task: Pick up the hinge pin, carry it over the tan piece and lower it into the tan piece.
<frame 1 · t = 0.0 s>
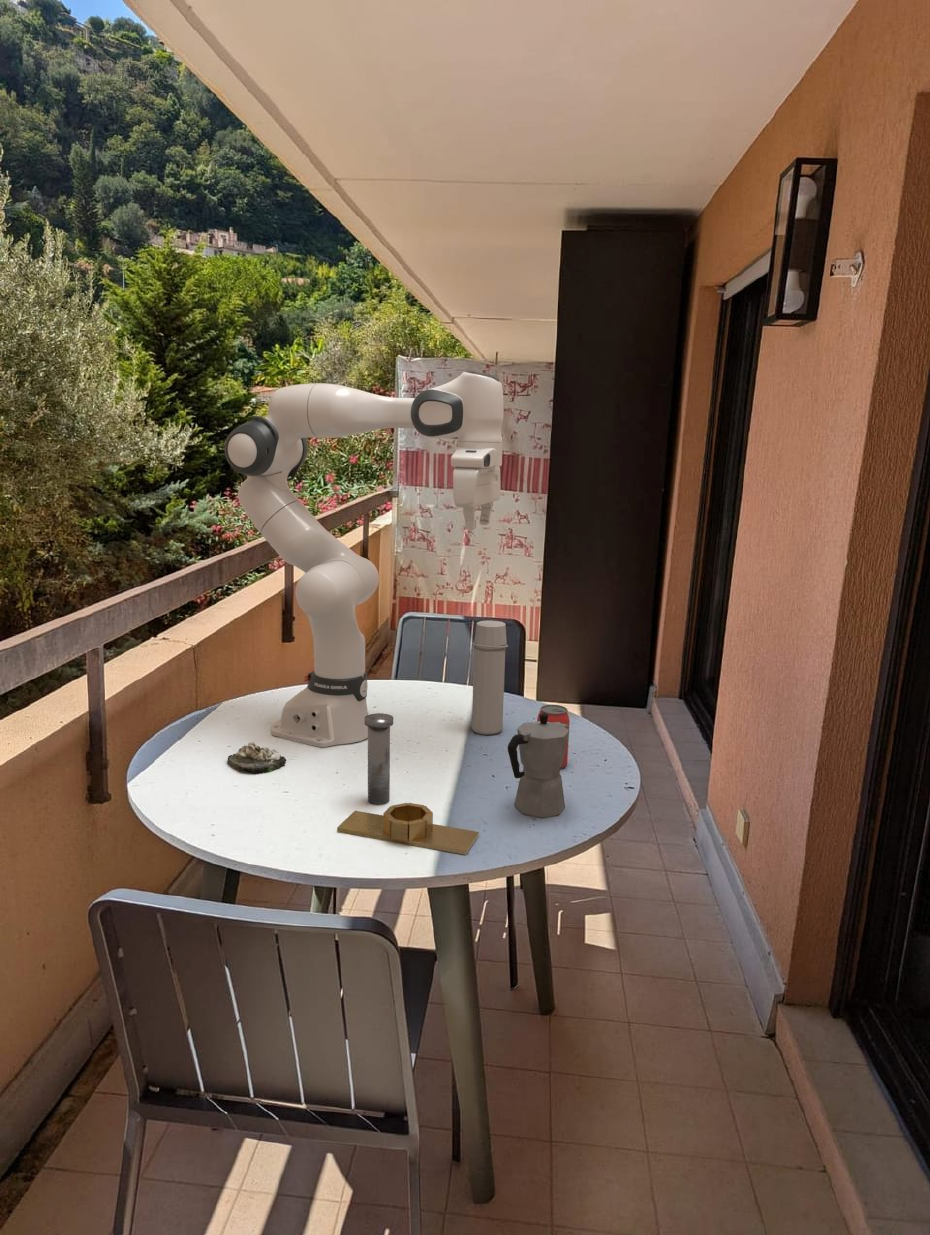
hand: (477, 526, 174), 48 cm above the table, tool pointing down, fingers open, 8 cm apart
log: (256, 766, 175), on the table
water bottle: (488, 730, 198), on the table
tan piece: (407, 833, 147), on the table
coffeepot: (535, 809, 158), on the table
beer can: (551, 764, 179), on the table
hinge pin: (378, 800, 160), on the table
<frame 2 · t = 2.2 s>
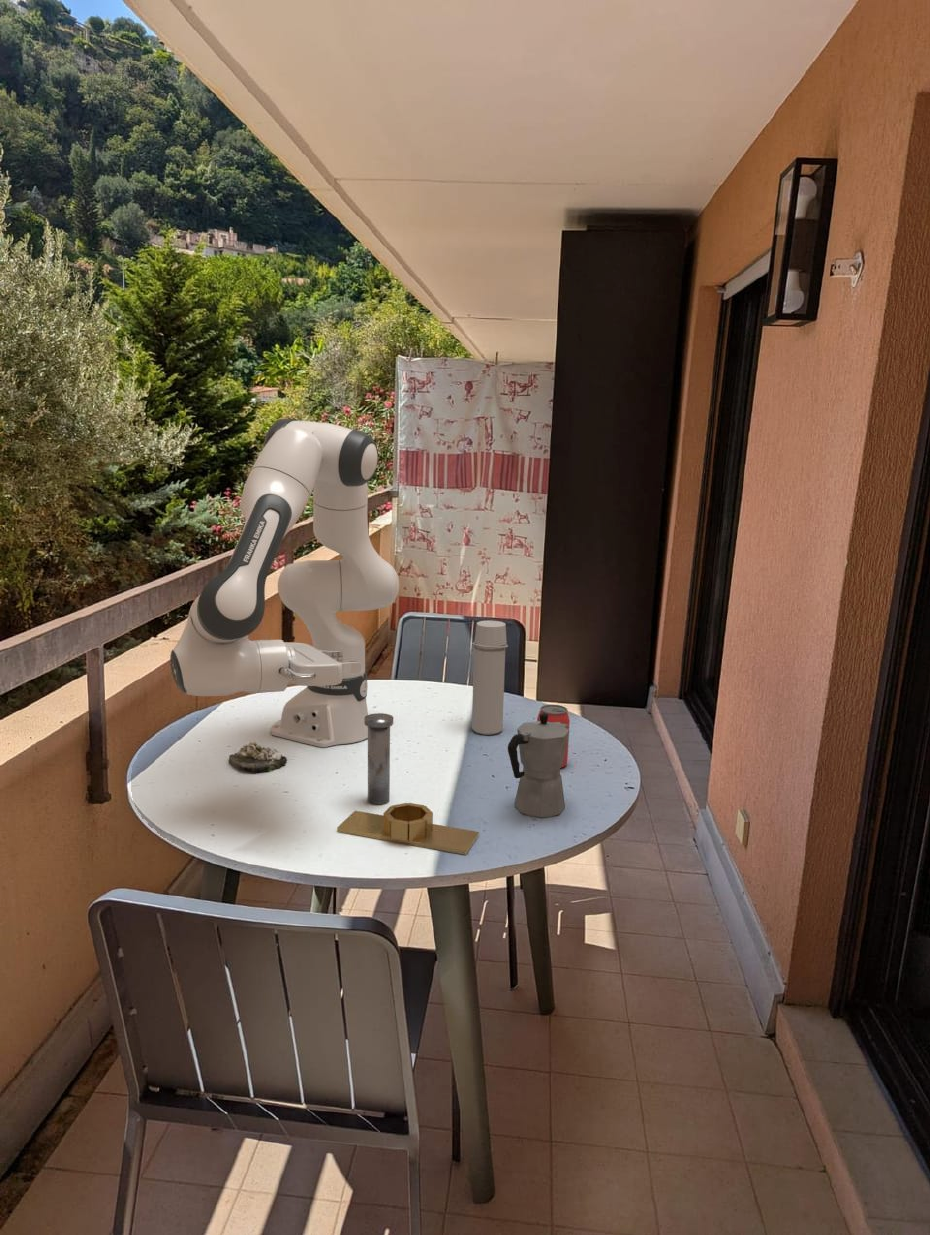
hand: (350, 661, 153), 27 cm above the table, tool horizontal, fingers open, 8 cm apart
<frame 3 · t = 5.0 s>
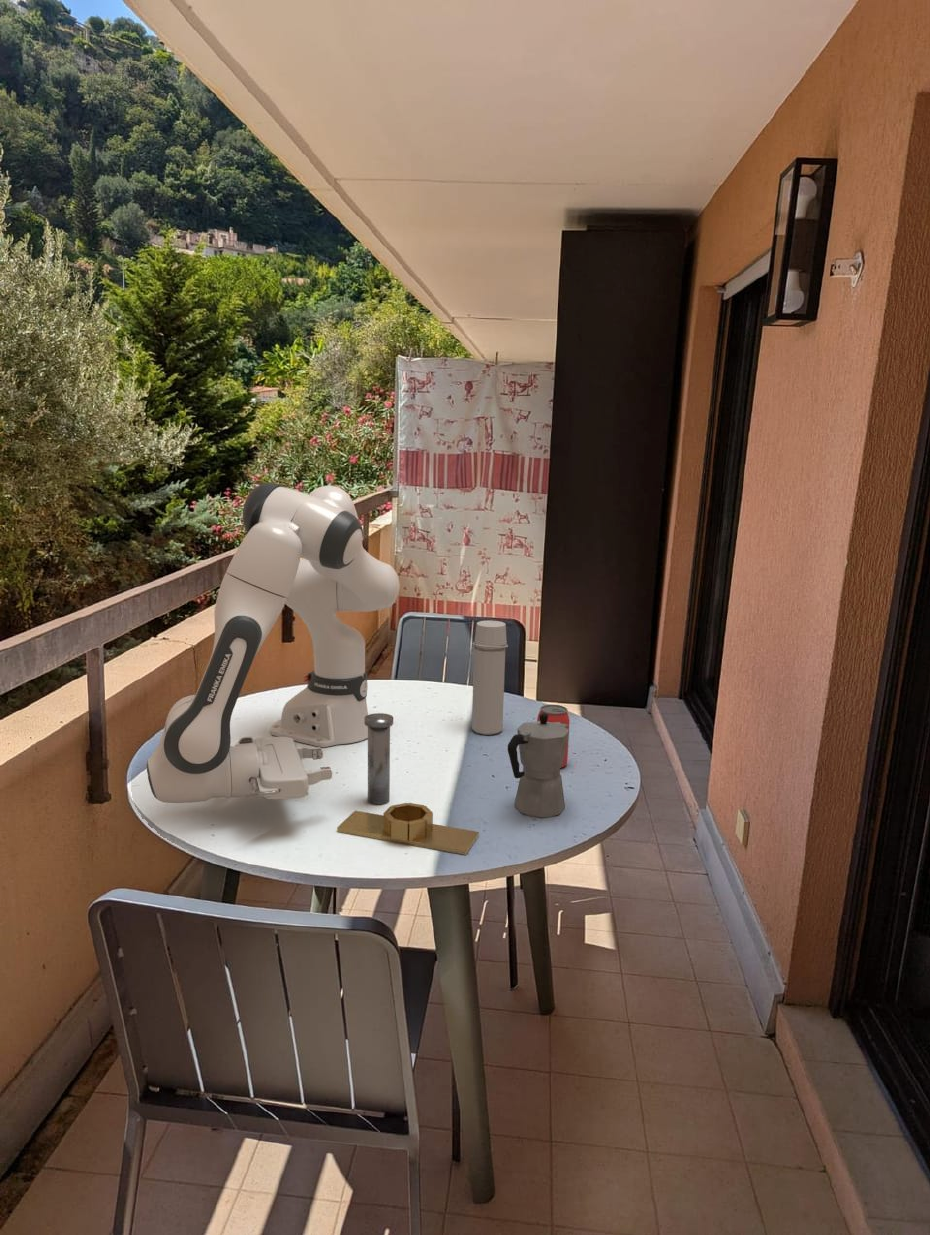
hand: (326, 762, 155), 8 cm above the table, tool horizontal, fingers open, 8 cm apart
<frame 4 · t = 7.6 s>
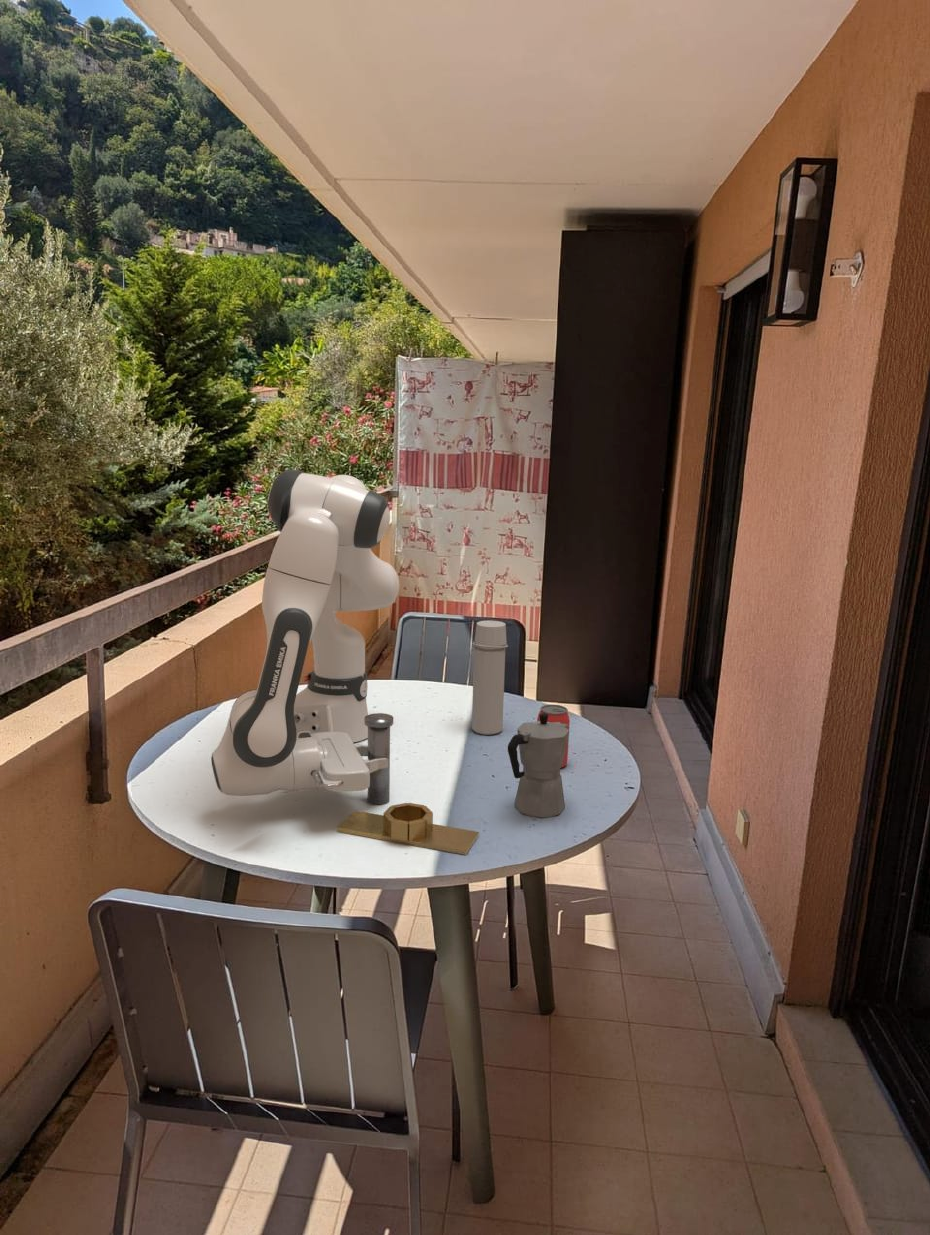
hand: (383, 756, 158), 9 cm above the table, tool horizontal, fingers closed on hinge pin, 4 cm apart
hinge pin: (378, 800, 160), on the table, touching gripper
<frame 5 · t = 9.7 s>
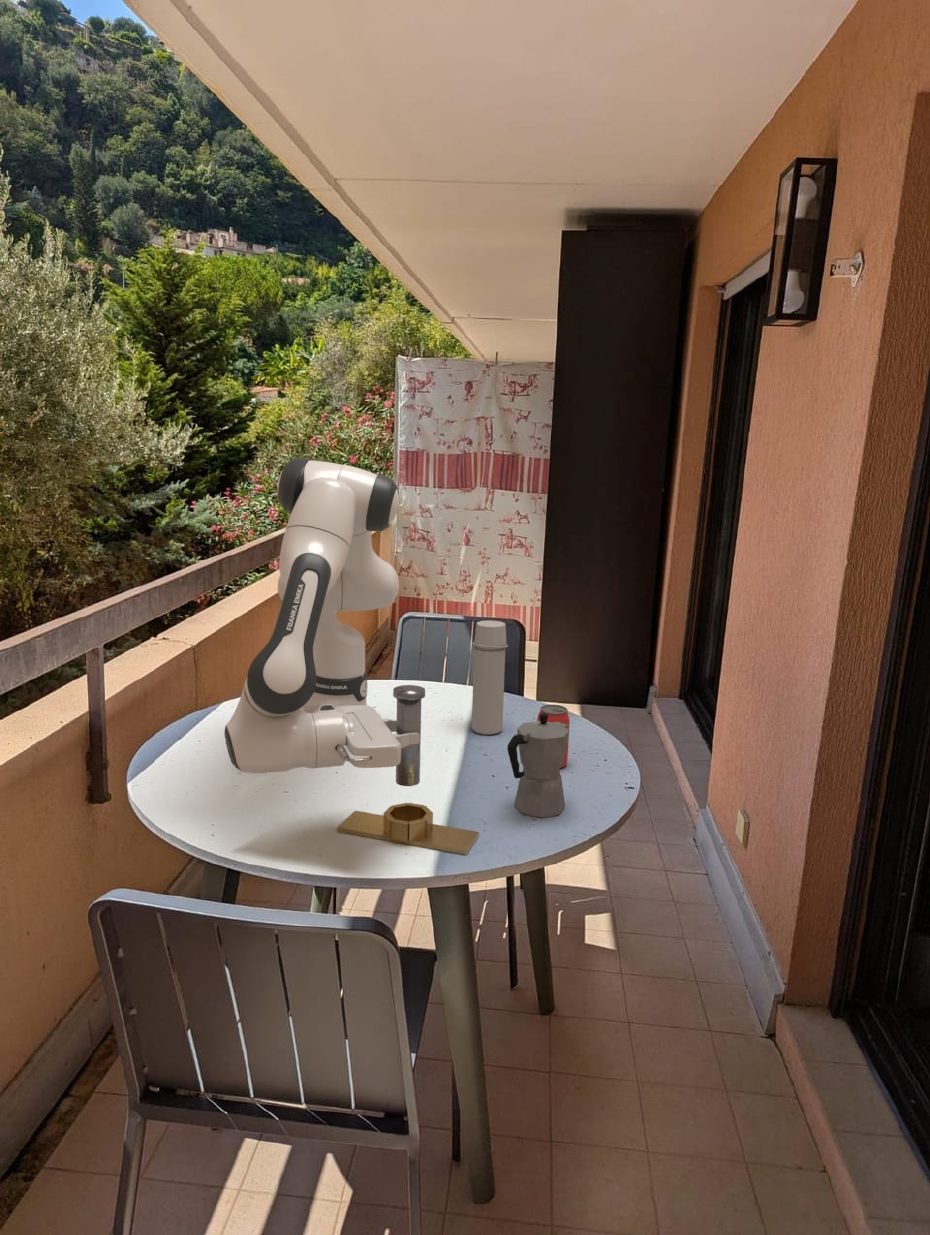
hand: (413, 731, 143), 18 cm above the table, tool horizontal, fingers closed on hinge pin, 4 cm apart
hinge pin: (407, 781, 145), point 10 cm above the table, touching gripper
when the fingers open (10 cm above the table, at t = 11.9 s): hinge pin stays where it is, resting on tan piece.
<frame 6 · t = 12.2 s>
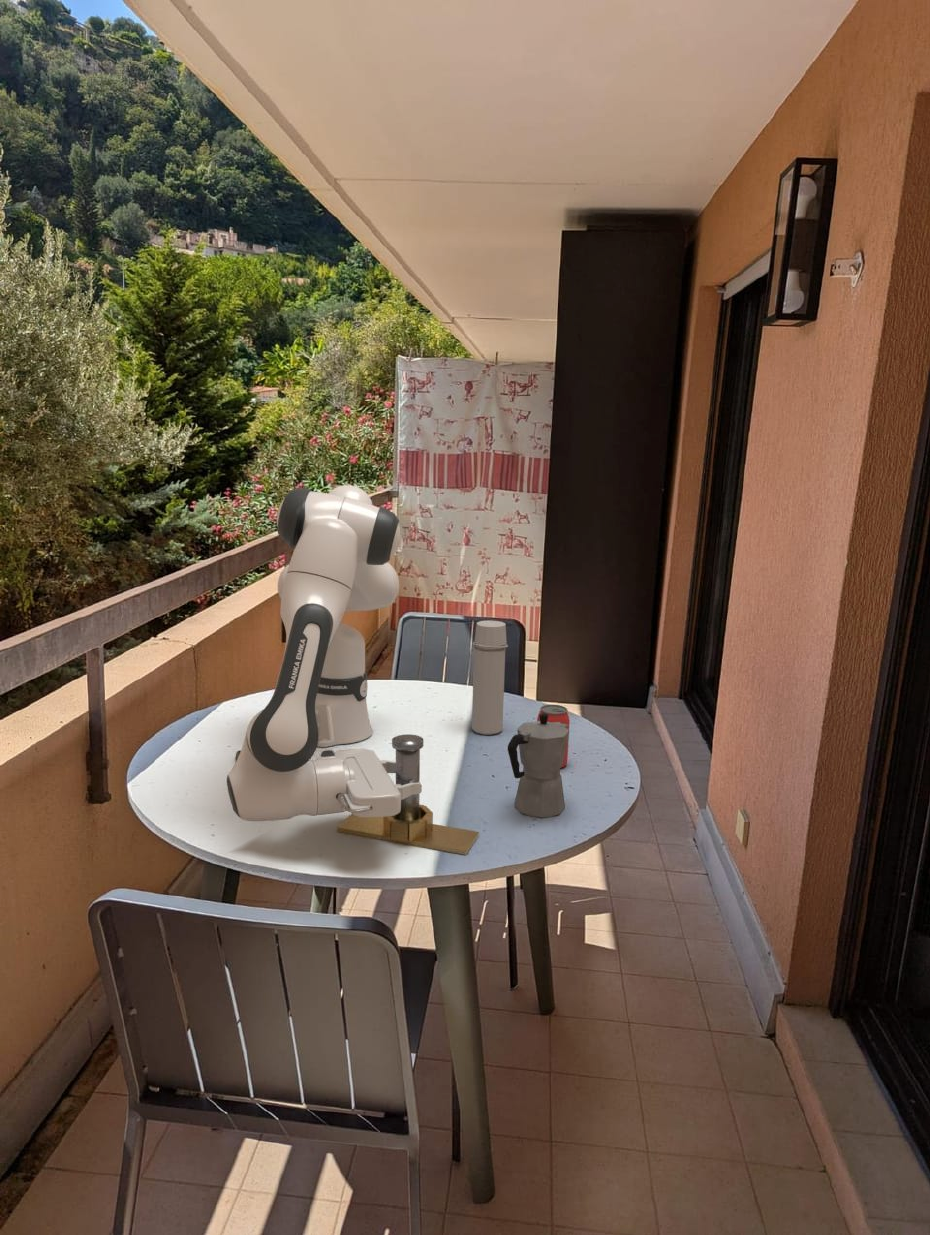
hand: (413, 776, 145), 10 cm above the table, tool horizontal, fingers open, 7 cm apart
hinge pin: (407, 829, 147), point 1 cm above the table, touching tan piece
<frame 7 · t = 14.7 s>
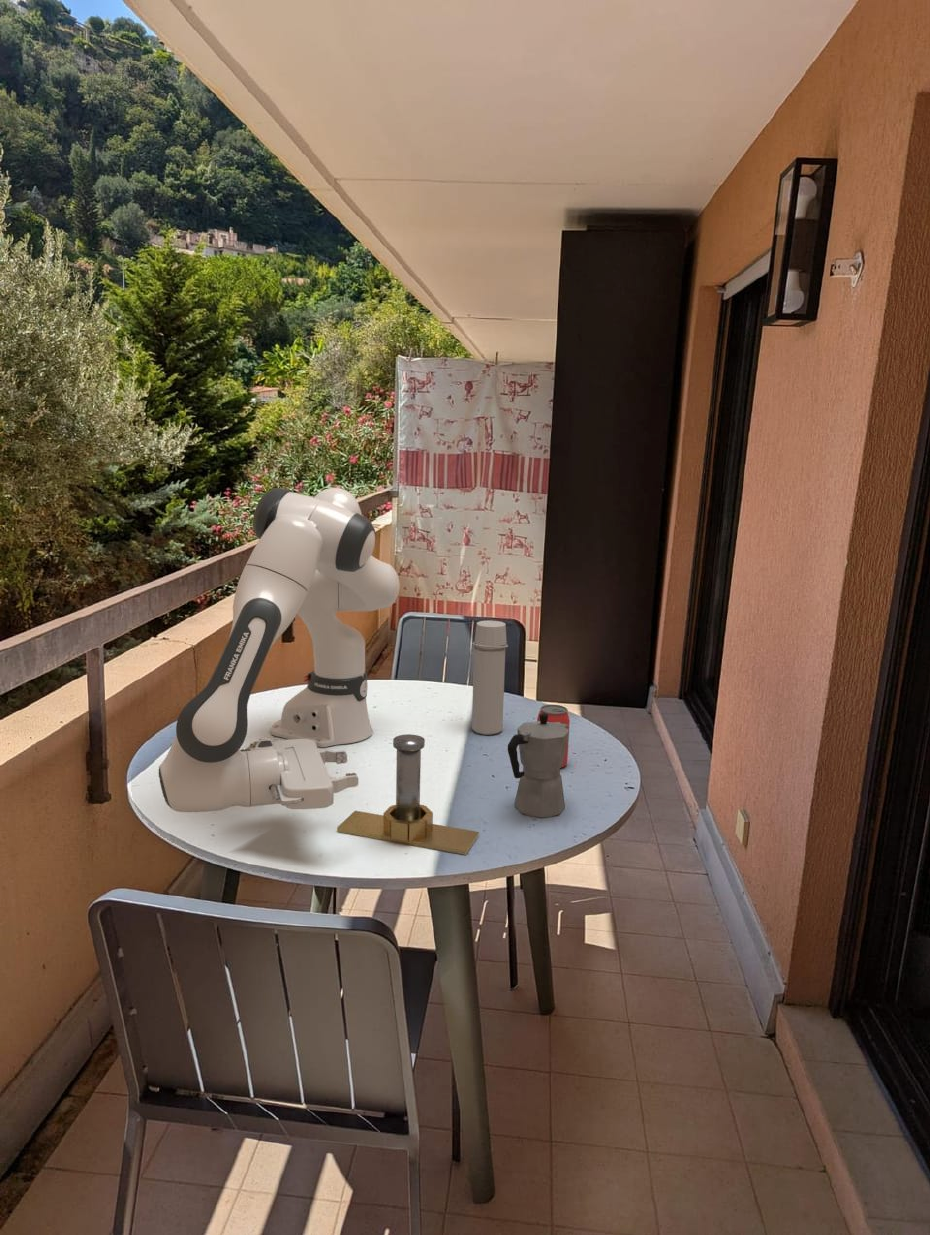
hand: (351, 767, 144), 12 cm above the table, tool horizontal, fingers open, 8 cm apart
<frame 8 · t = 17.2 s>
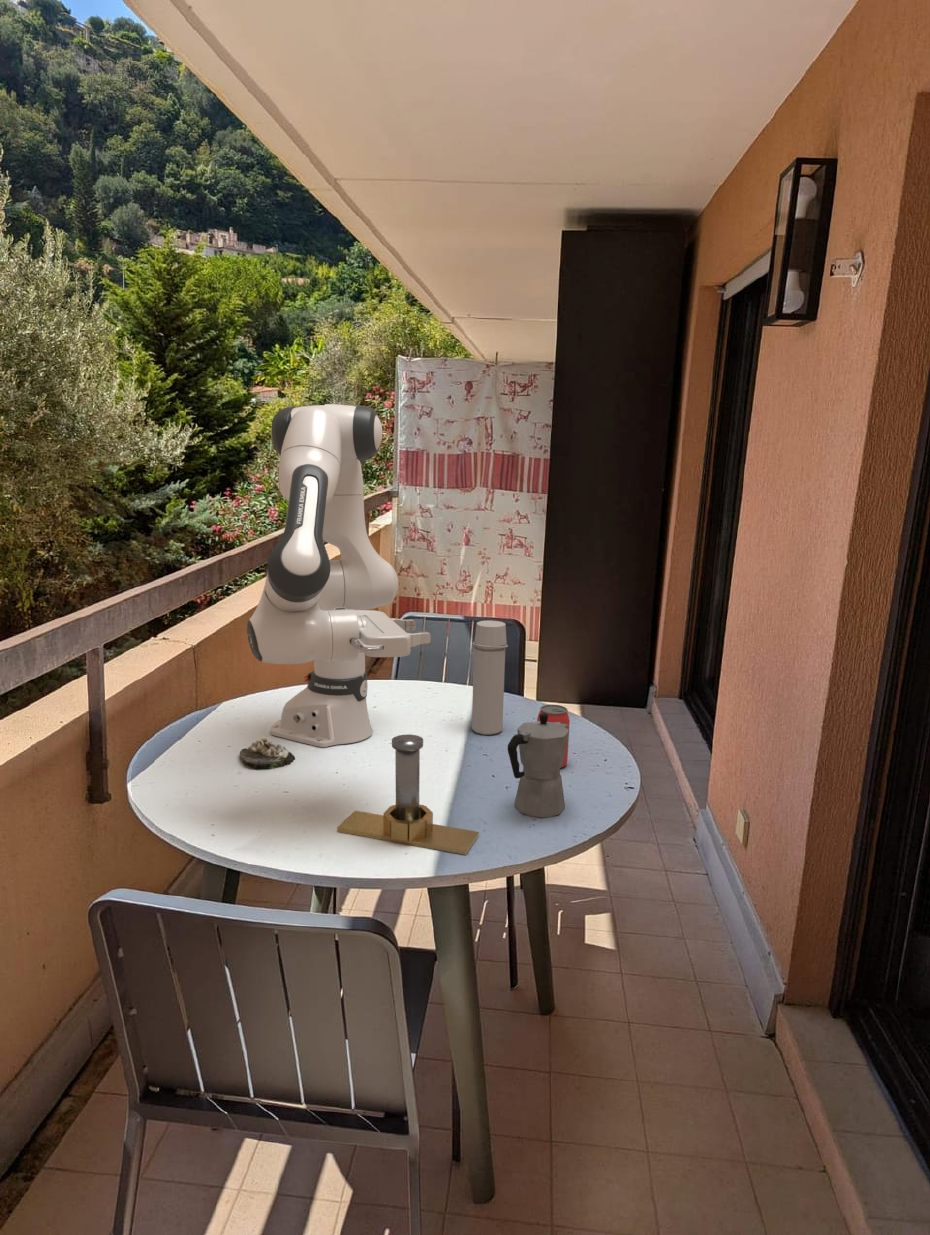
hand: (422, 630, 154), 32 cm above the table, tool horizontal, fingers open, 8 cm apart
at the end: hinge pin 0.1 cm off-centre on the tan piece, point 0.8 cm above the tan piece's base; hinge pin tilted 1°; the gripper is holding nothing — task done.
